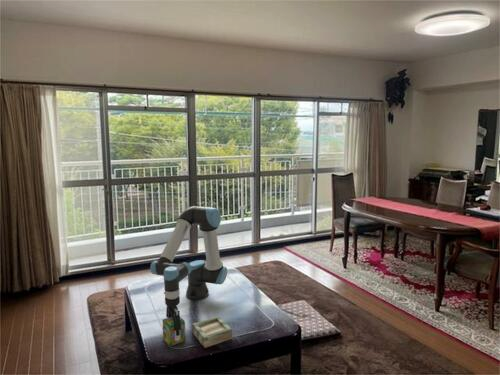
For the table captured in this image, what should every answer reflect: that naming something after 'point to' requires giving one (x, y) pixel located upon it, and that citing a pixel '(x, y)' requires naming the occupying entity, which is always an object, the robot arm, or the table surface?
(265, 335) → the table surface
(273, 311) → the table surface
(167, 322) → the chalk box
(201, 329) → the rectangular frame
